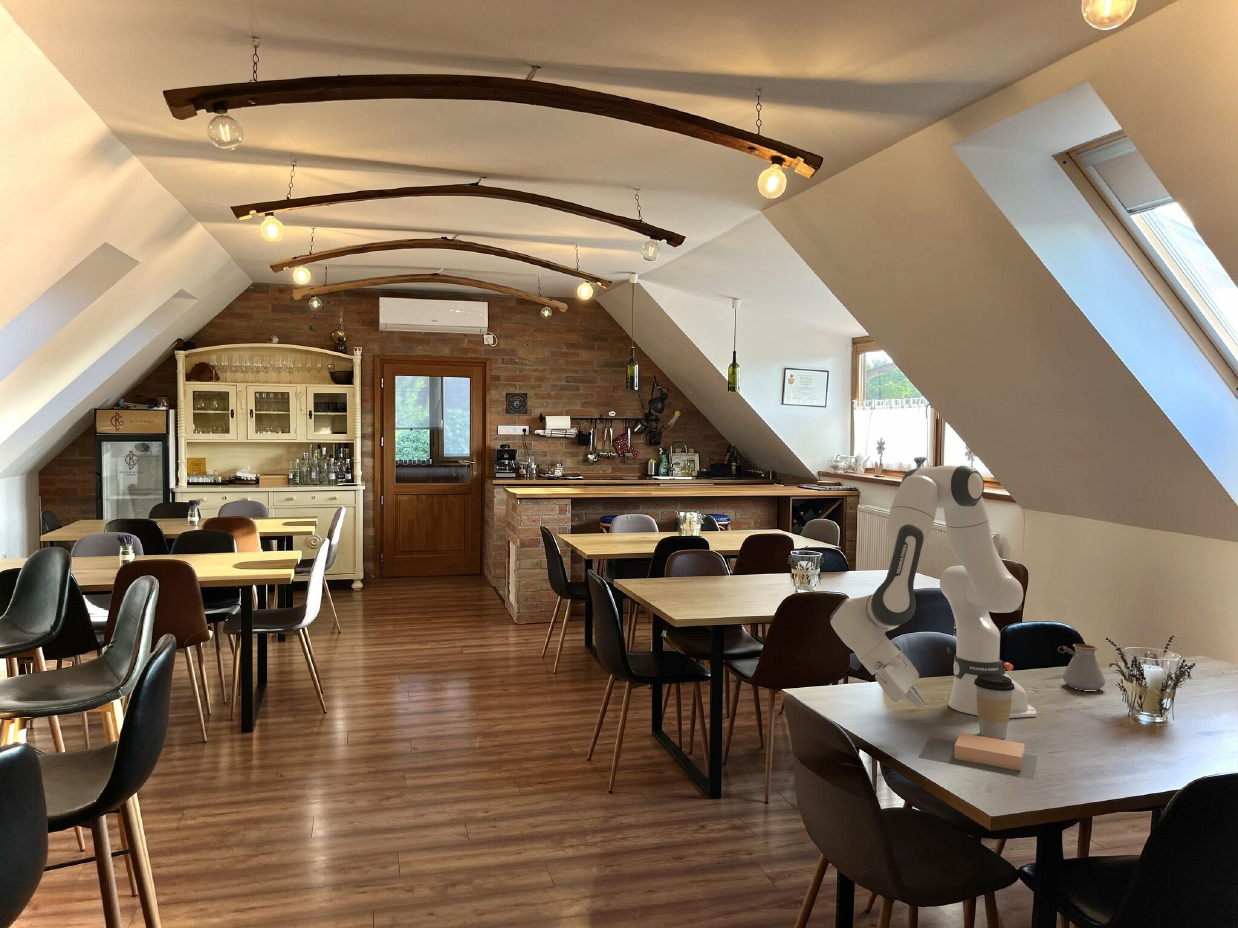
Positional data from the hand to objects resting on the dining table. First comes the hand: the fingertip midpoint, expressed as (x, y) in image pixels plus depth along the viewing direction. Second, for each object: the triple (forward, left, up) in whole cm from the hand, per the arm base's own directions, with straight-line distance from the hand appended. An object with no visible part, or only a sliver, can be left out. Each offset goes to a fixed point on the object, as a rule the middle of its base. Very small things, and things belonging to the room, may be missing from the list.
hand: (922, 704), depth 206 cm
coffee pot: (-67, -51, -11) cm, 84 cm away
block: (-7, +4, -8) cm, 12 cm away
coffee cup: (-22, -9, -11) cm, 26 cm away
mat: (-11, +6, -11) cm, 17 cm away
